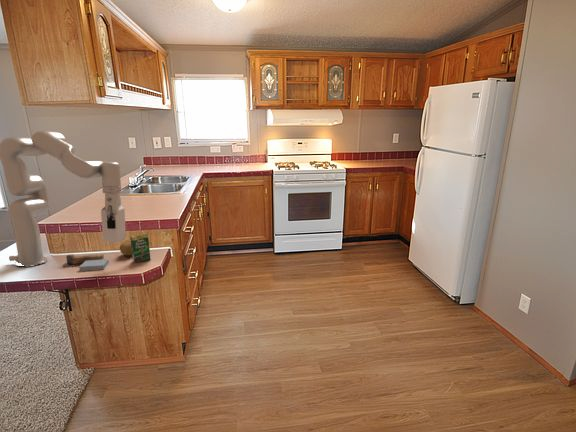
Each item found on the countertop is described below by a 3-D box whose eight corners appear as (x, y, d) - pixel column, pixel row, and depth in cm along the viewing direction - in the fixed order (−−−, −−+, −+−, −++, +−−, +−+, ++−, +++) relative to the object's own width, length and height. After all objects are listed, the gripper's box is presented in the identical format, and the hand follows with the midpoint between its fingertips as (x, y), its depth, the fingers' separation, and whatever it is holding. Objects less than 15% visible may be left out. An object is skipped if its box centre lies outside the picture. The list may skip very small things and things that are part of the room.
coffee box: (133, 263, 165) (131, 237, 163) (132, 261, 167) (130, 236, 165) (150, 260, 170) (148, 235, 167) (149, 258, 172) (147, 233, 170)
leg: (66, 264, 161) (65, 256, 160) (68, 262, 164) (67, 254, 163) (102, 261, 165) (101, 254, 165) (104, 259, 168) (103, 252, 168)
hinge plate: (60, 267, 159) (60, 266, 159) (65, 262, 165) (65, 262, 165) (76, 266, 160) (76, 265, 160) (81, 261, 167) (81, 261, 167)
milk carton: (126, 238, 162) (124, 199, 158) (117, 242, 155) (115, 202, 151) (112, 237, 162) (109, 198, 159) (102, 241, 155) (100, 201, 152)
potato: (114, 258, 172) (112, 243, 171) (130, 250, 186) (129, 236, 184) (132, 259, 171) (130, 244, 169) (146, 251, 185) (145, 237, 183)
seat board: (79, 271, 154) (79, 266, 154) (86, 264, 163) (85, 260, 162) (103, 269, 157) (103, 265, 156) (108, 262, 165) (108, 259, 165)
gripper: (116, 192, 146) (118, 230, 150) (124, 187, 163) (126, 222, 166) (97, 191, 145) (99, 230, 148) (107, 187, 161) (109, 222, 164)
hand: (113, 226), depth 157 cm, fingers closed on milk carton, 8 cm apart
